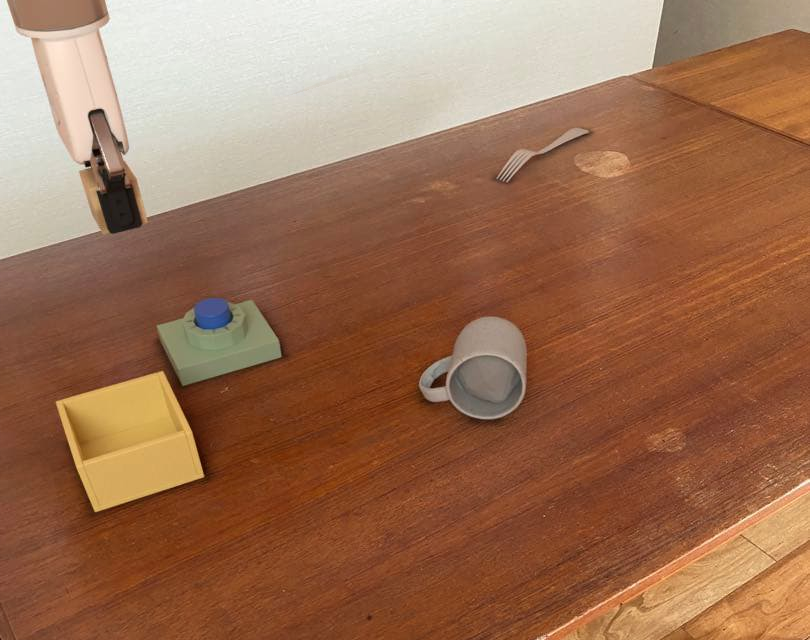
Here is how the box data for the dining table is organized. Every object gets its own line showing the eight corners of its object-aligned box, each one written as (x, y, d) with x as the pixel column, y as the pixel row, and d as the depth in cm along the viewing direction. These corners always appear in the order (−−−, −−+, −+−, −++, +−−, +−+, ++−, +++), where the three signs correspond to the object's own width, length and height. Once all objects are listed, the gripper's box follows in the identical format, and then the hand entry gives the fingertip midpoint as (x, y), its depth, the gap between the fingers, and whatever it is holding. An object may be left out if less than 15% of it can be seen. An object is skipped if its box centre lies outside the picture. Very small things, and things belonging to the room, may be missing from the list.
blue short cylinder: (202, 334, 90) (199, 319, 89) (193, 317, 92) (189, 302, 91) (235, 325, 91) (232, 310, 90) (225, 308, 93) (222, 294, 92)
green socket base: (182, 386, 90) (173, 354, 87) (160, 342, 96) (152, 310, 93) (282, 357, 93) (276, 325, 90) (255, 316, 99) (249, 285, 96)
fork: (589, 149, 132) (592, 130, 130) (509, 183, 119) (512, 162, 118) (573, 144, 133) (576, 125, 131) (493, 178, 121) (495, 157, 119)
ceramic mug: (525, 372, 90) (529, 307, 84) (523, 422, 84) (528, 356, 79) (423, 369, 91) (421, 304, 86) (415, 418, 86) (412, 353, 80)
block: (102, 234, 82) (88, 189, 79) (92, 215, 85) (78, 170, 81) (148, 223, 83) (136, 178, 80) (136, 204, 86) (124, 160, 83)
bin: (95, 512, 78) (76, 467, 74) (73, 446, 84) (55, 401, 80) (204, 477, 81) (192, 431, 76) (175, 415, 87) (163, 370, 83)
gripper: (-6, -15, 74) (62, 192, 88) (29, 42, 64) (100, 267, 77) (81, -29, 77) (134, 175, 90) (129, 24, 66) (181, 246, 80)
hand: (118, 216), depth 84 cm, fingers closed on block, 4 cm apart
